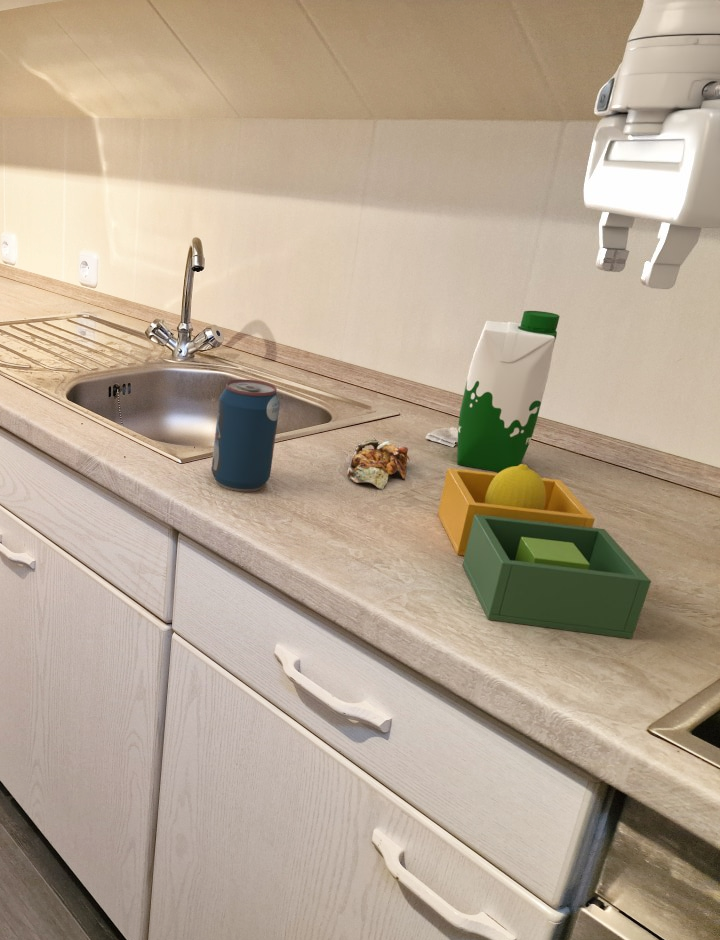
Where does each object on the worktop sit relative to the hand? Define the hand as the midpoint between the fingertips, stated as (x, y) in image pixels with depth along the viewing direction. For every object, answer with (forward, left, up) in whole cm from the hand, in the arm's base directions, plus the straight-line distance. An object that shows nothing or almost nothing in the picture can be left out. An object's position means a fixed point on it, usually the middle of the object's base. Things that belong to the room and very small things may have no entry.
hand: (630, 278), depth 67 cm
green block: (0, 0, -28) cm, 28 cm away
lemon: (0, -13, -29) cm, 31 cm away
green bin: (0, 0, -29) cm, 29 cm away
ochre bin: (0, -13, -29) cm, 32 cm away
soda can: (+28, -21, -29) cm, 46 cm away
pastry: (+11, -30, -29) cm, 43 cm away
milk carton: (-4, -39, -29) cm, 49 cm away
